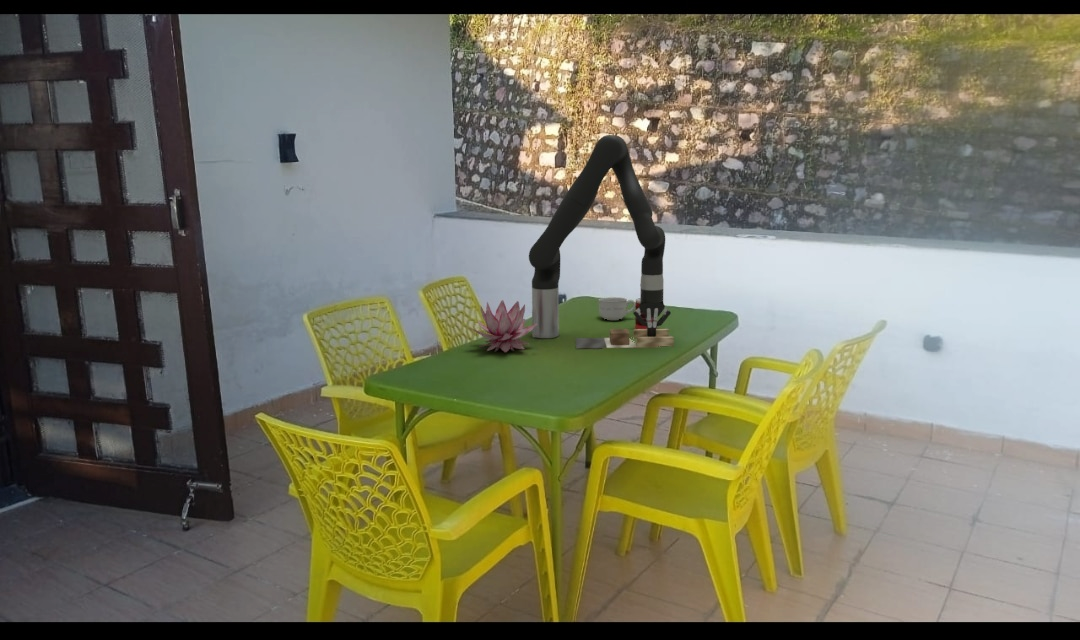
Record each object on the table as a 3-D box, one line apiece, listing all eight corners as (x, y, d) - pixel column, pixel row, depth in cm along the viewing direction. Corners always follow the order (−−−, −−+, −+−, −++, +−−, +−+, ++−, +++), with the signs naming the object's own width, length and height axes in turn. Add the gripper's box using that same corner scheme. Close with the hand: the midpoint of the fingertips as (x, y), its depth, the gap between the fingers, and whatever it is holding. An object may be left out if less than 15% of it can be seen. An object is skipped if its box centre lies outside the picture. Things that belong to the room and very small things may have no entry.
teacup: (595, 321, 304) (595, 300, 302) (601, 315, 314) (601, 295, 312) (632, 323, 300) (632, 302, 298) (637, 317, 310) (637, 296, 308)
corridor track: (576, 349, 266) (576, 339, 265) (574, 339, 278) (574, 329, 278) (673, 348, 266) (674, 337, 265) (667, 338, 278) (668, 328, 278)
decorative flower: (528, 359, 255) (527, 312, 251) (463, 356, 259) (461, 310, 255) (541, 342, 275) (541, 298, 272) (481, 339, 279) (480, 297, 276)
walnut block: (611, 345, 269) (611, 333, 268) (609, 340, 275) (609, 329, 274) (629, 344, 269) (629, 333, 268) (627, 340, 275) (627, 328, 274)
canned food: (656, 327, 294) (656, 297, 292) (657, 332, 286) (657, 302, 284) (634, 327, 295) (635, 297, 292) (635, 332, 287) (635, 302, 285)
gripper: (633, 289, 264) (632, 341, 268) (673, 288, 264) (672, 340, 267) (630, 285, 271) (630, 335, 275) (670, 284, 271) (669, 334, 275)
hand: (651, 337), depth 271 cm, fingers closed
